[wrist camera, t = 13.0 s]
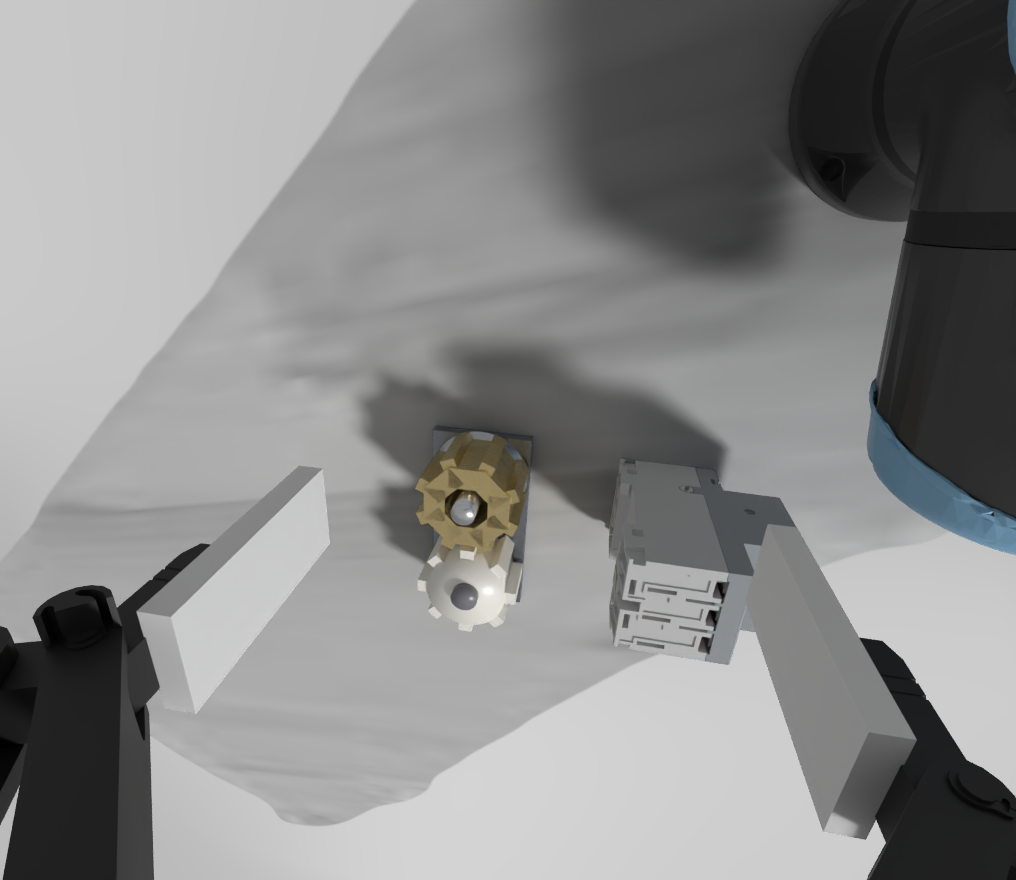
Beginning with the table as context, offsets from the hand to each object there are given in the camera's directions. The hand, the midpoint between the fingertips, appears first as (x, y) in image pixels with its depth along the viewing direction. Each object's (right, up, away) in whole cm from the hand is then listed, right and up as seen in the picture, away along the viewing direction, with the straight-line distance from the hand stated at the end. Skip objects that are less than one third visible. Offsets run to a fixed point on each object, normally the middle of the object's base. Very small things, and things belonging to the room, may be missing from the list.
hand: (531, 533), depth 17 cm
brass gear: (-3, -1, +35) cm, 35 cm away
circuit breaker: (+16, -3, +34) cm, 38 cm away
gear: (-4, -9, +39) cm, 40 cm away
